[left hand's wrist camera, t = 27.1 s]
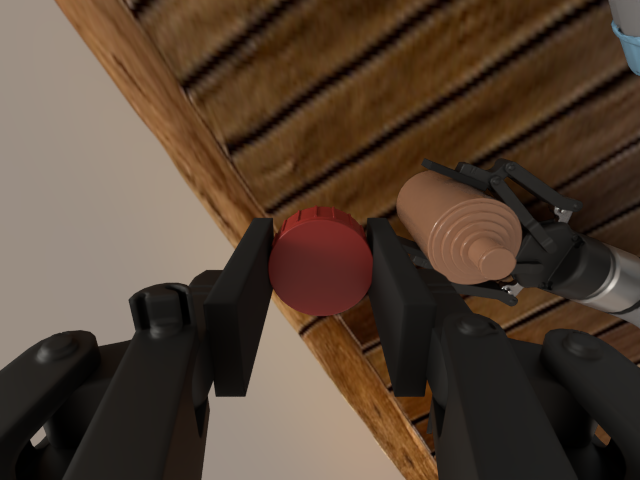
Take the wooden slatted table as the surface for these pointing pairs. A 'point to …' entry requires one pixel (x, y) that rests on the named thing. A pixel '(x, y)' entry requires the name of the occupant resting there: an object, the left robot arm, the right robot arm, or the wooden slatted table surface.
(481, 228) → the bottle
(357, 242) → the cap
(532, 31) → the wooden slatted table surface
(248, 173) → the wooden slatted table surface
